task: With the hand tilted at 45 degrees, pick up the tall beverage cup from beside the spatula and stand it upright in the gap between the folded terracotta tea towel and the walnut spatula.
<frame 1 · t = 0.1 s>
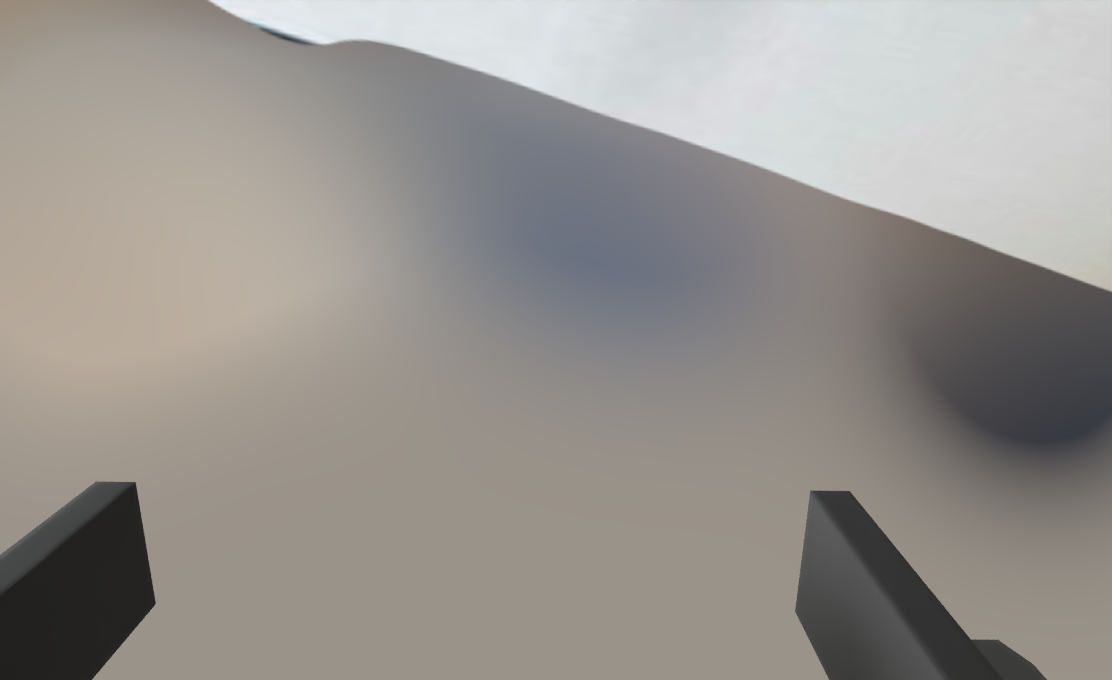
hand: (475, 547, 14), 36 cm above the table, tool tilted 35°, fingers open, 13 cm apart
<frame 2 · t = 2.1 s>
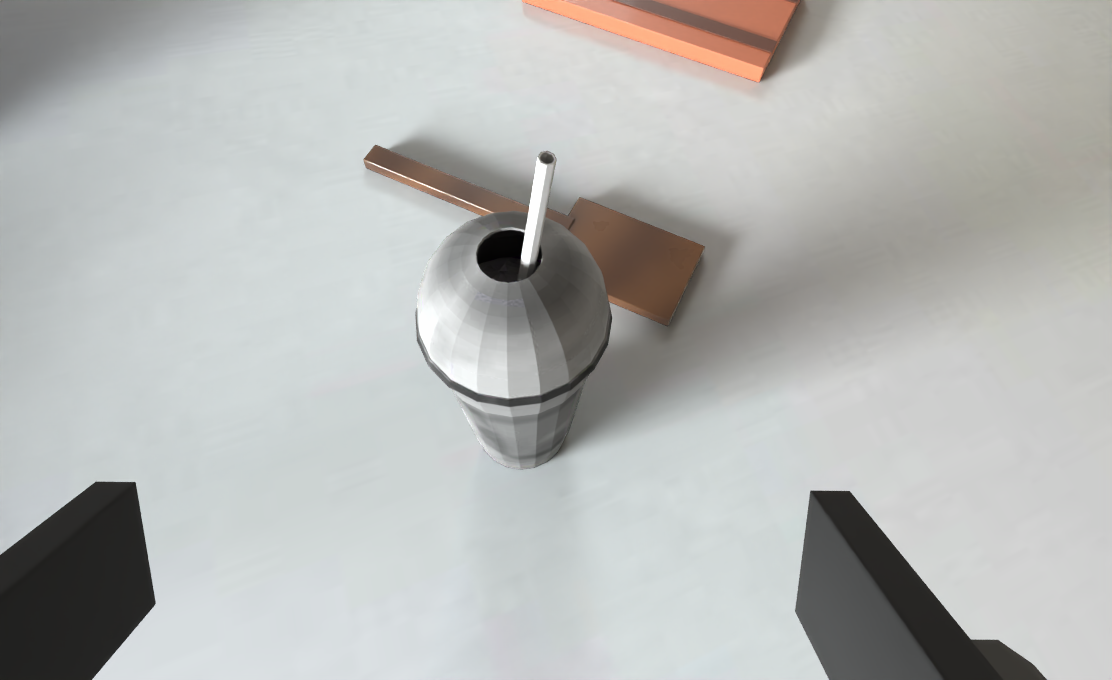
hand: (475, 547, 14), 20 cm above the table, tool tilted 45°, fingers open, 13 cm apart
beverage cup: (522, 427, 37), on the table
spatula: (521, 221, 43), on the table
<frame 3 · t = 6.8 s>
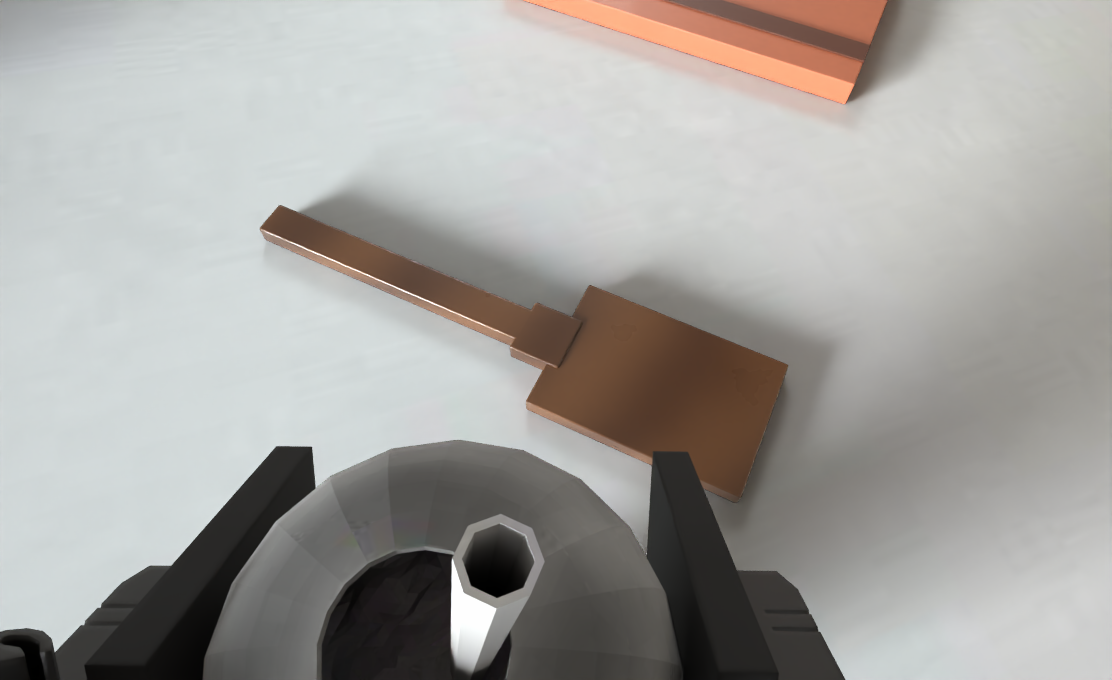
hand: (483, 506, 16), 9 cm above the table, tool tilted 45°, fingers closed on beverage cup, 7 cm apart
spatula: (500, 324, 28), on the table
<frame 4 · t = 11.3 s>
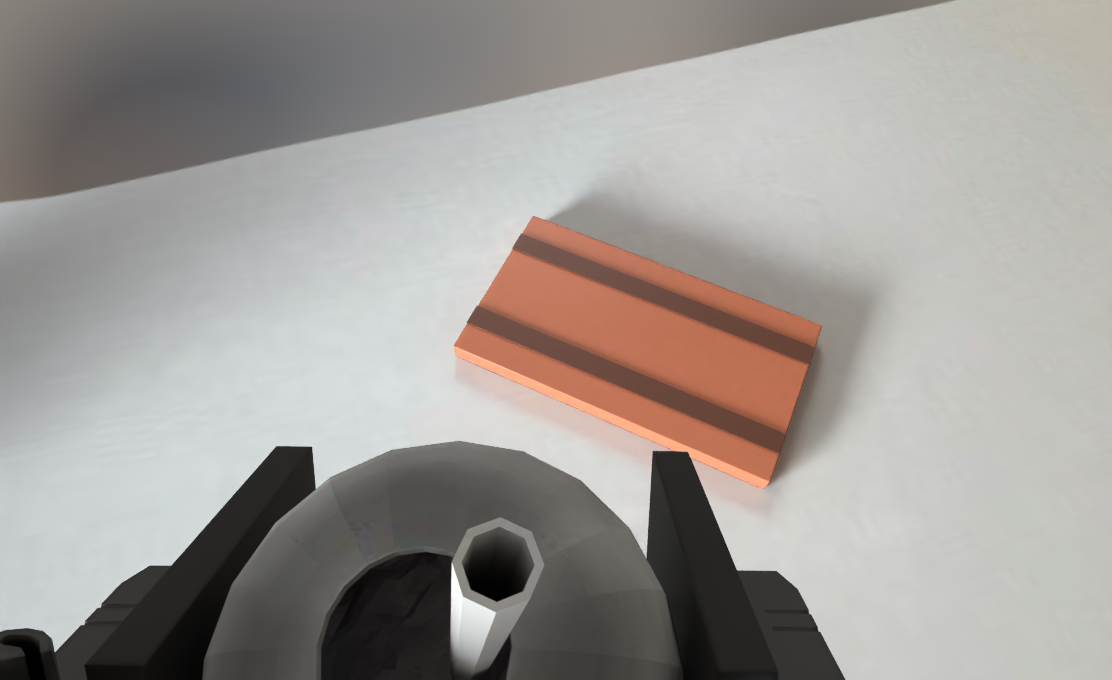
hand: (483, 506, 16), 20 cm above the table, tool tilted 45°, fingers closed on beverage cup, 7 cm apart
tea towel: (637, 345, 41), on the table
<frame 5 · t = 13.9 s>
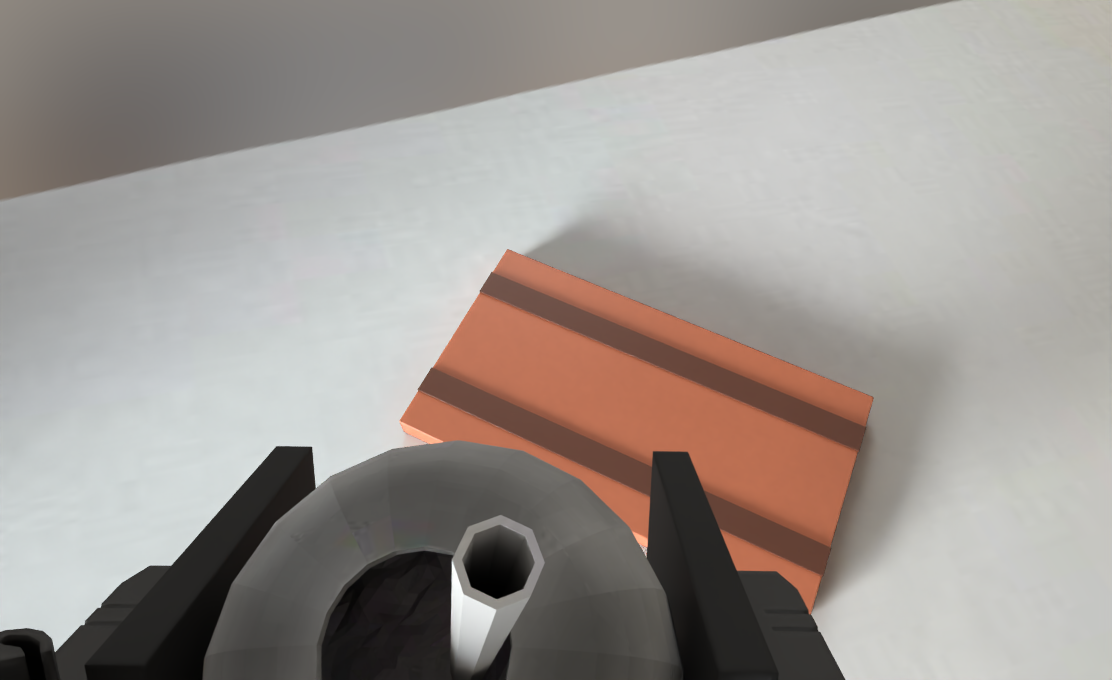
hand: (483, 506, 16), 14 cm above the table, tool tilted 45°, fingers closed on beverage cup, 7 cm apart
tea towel: (636, 419, 32), on the table
when the fingers open (9 cm above the table, at t = 15.9 s): beverage cup stays where it is, on the table.
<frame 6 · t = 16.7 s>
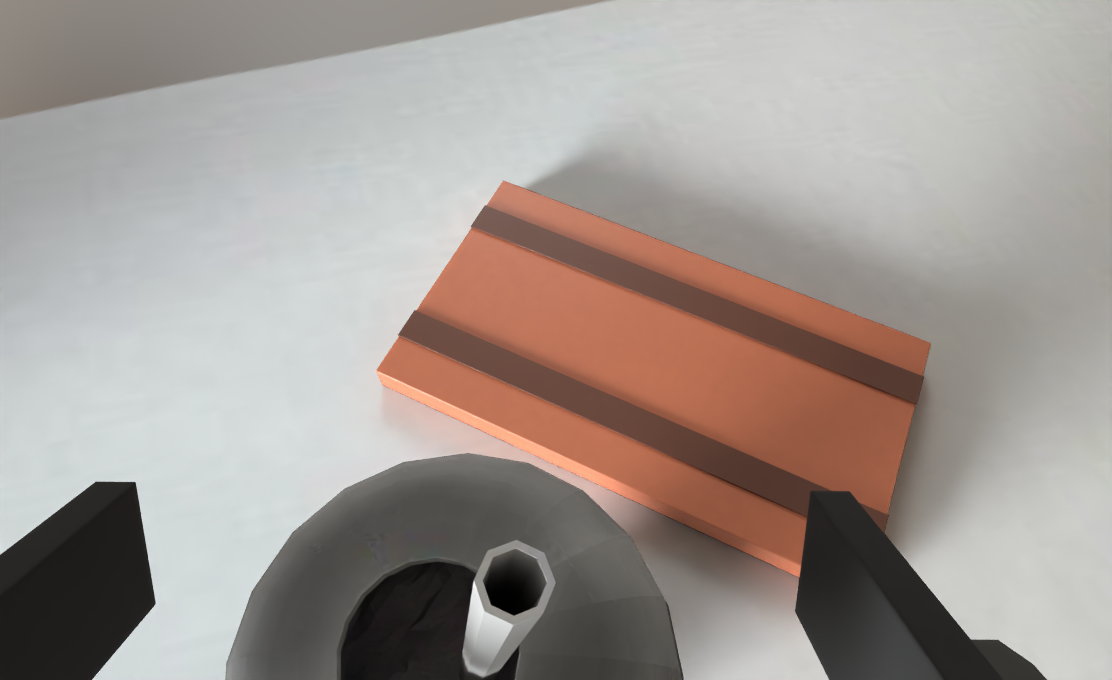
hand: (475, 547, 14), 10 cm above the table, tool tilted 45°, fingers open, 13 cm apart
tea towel: (653, 371, 27), on the table
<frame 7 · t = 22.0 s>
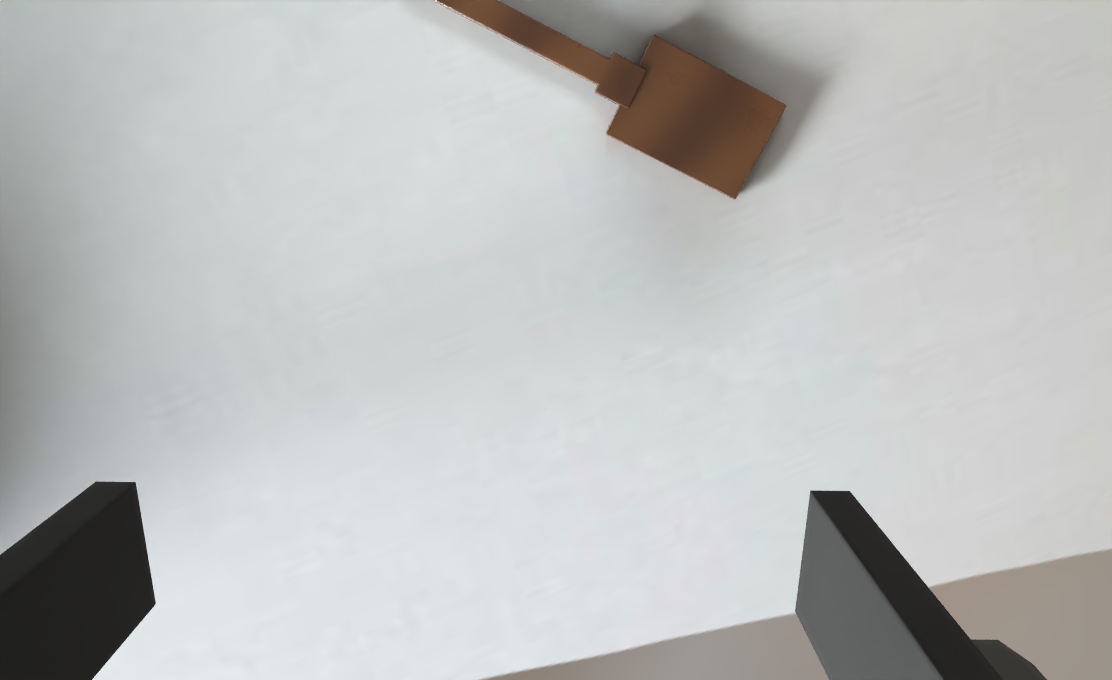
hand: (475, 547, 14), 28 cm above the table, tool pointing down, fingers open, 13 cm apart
spatula: (586, 64, 38), on the table
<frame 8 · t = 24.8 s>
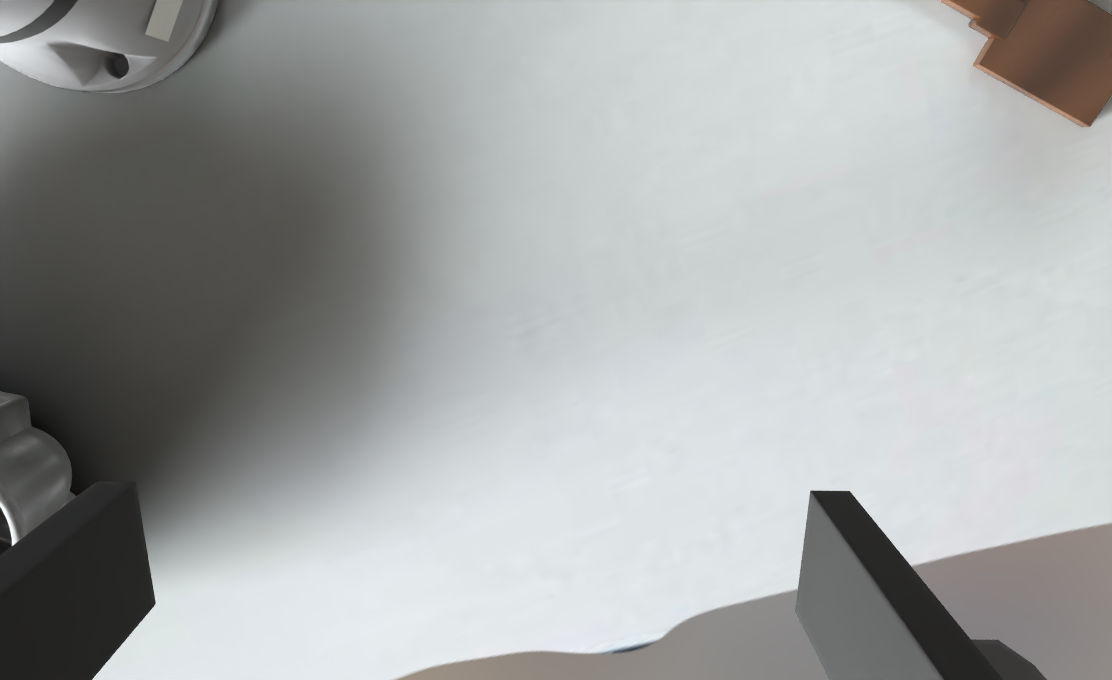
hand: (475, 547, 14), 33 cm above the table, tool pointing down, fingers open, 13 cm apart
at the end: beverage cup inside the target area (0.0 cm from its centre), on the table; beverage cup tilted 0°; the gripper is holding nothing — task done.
